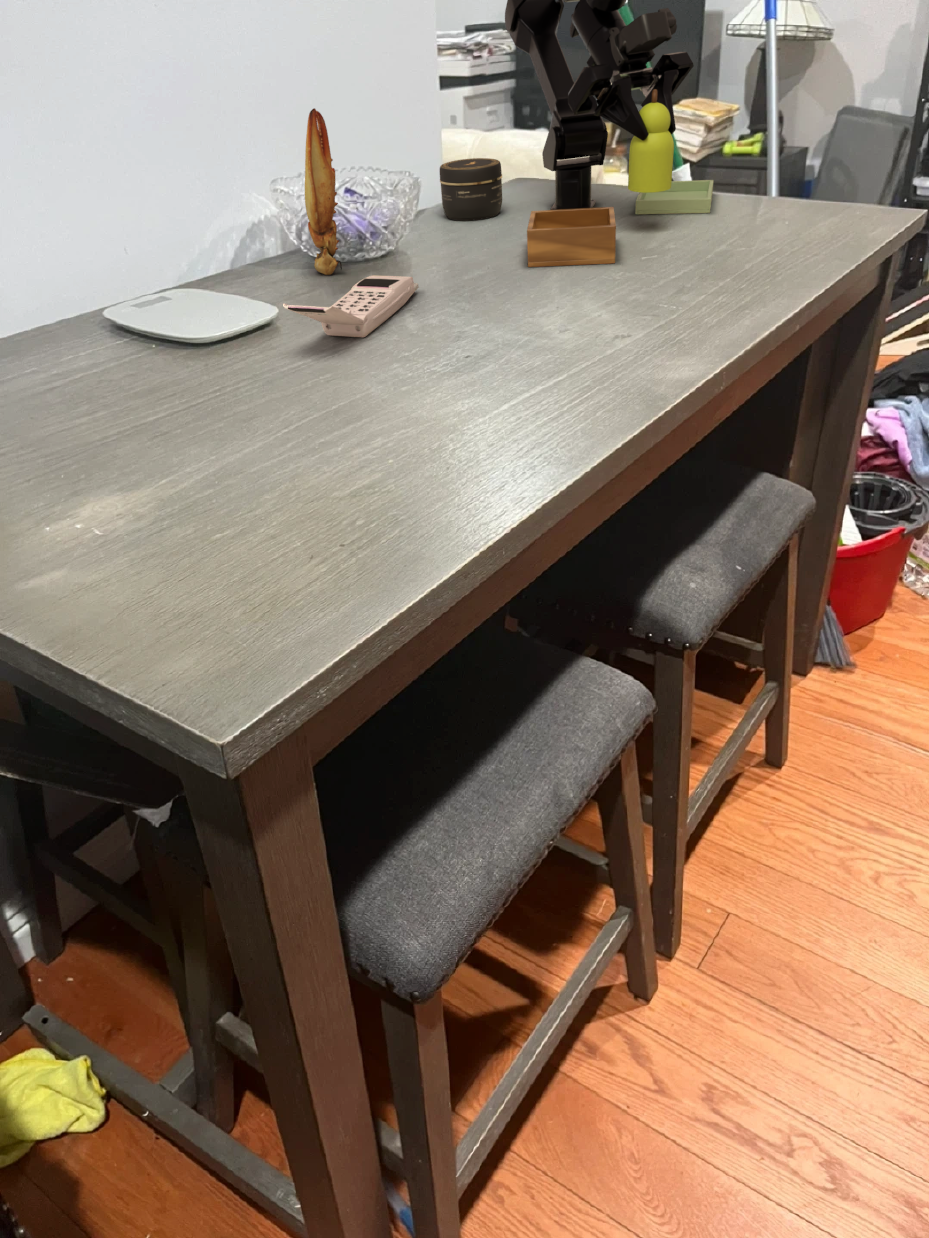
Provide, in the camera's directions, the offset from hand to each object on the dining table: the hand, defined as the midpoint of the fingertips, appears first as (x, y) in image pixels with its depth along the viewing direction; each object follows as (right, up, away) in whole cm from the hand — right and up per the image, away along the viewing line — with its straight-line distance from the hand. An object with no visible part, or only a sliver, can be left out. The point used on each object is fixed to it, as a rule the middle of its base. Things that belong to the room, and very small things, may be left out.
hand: (659, 135), depth 123 cm
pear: (0, -5, +5) cm, 7 cm away
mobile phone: (-38, -32, -17) cm, 53 cm away
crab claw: (-45, -19, +1) cm, 49 cm away
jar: (-25, 0, +25) cm, 36 cm away
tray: (+7, +1, +22) cm, 23 cm away
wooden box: (-12, -16, +1) cm, 20 cm away
